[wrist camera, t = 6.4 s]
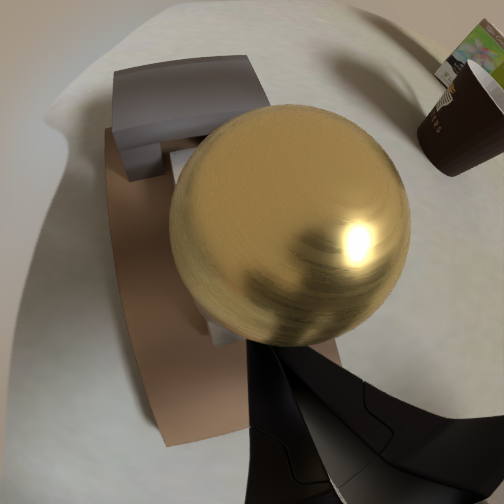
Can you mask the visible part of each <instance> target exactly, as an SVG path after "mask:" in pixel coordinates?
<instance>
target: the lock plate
mask: <svg viewBox="0 0 504 504" xmlns="http://www.w3.org/2000/svg"><path fill="white" fill-rule="evenodd" d="M267 106H271V105H270V103H269V101H268V98H267V96H266V94H265V92H264V90H263V88H262V86H261V84H260V81H259V79H258V77H257V75H256V73H255V71H254V69H253V67H252V65H251V63H250V61H249V59H248V57H247V55H233V56H214V57H201V58H190V59H182V60H174V61H167V62H160V63H154V64H148V65H143V66H138V67H133V68H128V69H124V70H119V71H115V72H114V78H113V101H112V127H111V128H107V129H105V169H106V188H107V202H108V213H109V223H110V232H111V240H112V248H113V255H114V261H115V268H116V274H117V279H118V285H119V290H120V295H121V300H122V305H123V310H124V314H125V319H126V323H127V327H128V332H129V336H130V340H131V343H132V347H133V351H134V355H135V358H136V362H137V365H138V369H139V372H140V375H141V378H142V382H143V385H144V388H145V391H146V394H147V397H148V400H149V403H150V406H151V409H152V411H153V414H154V417H155V420H156V422H157V425H158V427H159V430H160V433H161V435H162V438H163V440H164V442H165V445H166V447H170V446H175V445H181V444H186V443H190V442H195V441H200V440H204V439H208V438H212V437H216V436H220V435H224V434H228V433H231V432H235V431H238V430H242V429H245V428H248V427H249V410H248V384H247V356H246V339H245V340H241V341H238V342H234V343H231V344H227V345H223V346H220V347H216V348H215V347H214V346H213V345H212V343H211V339H210V336H209V332H208V328H207V325H206V321H205V318H204V317H203V316H202V315H201V314H200V312H199V311H198V309H197V307H196V304H195V301H194V298H193V297H192V295H191V294H190V292H189V291H188V289H187V287H186V286H185V284H184V283H183V281H182V279H181V276H180V274H179V272H178V270H177V267H176V264H175V261H174V258H173V254H172V250H171V243H170V236H169V212H170V206H171V200H172V196H173V193H174V190H175V188H174V183H173V178H172V171H171V161H170V152H173V151H179V150H184V149H190V148H196V147H198V145H199V144H200V143H201V142H202V141H203V140H204V139H205V138H206V137H207V136H208V135H210V134H211V133H212V132H213V131H215V130H216V129H217V128H219V127H220V126H221V125H223V124H224V123H225V122H227V121H229V120H231V119H233V118H235V117H237V116H239V115H241V114H243V113H246V112H249V111H252V110H254V109H257V108H262V107H267ZM308 346H309V347H311V348H313V349H314V350H316V351H317V352H319V353H320V354H322V355H323V356H325V357H327V358H328V359H330V360H331V361H333V362H335V363H336V364H338V365H339V366H341V367H342V365H341V361H340V357H339V353H338V350H337V346H336V342H335V339H332V340H329V341H326V342H322V343H319V344H314V345H308Z"/></svg>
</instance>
